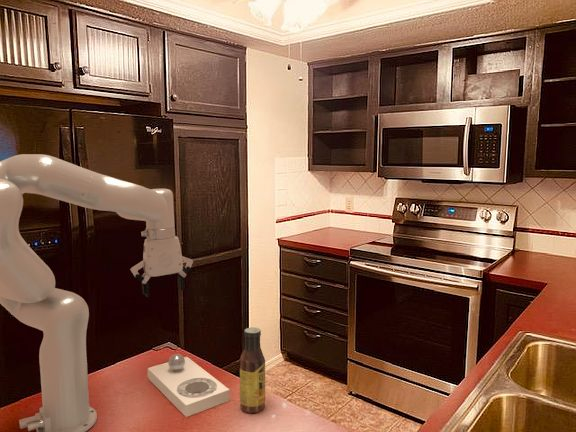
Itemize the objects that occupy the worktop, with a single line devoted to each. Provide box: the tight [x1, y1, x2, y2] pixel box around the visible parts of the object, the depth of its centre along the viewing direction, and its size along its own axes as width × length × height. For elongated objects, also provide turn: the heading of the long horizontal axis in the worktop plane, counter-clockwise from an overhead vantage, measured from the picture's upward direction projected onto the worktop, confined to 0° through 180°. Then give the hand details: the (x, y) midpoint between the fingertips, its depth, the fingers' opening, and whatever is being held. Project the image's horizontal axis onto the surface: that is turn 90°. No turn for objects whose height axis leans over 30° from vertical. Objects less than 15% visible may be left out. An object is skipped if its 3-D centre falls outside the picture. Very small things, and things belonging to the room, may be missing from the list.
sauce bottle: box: [239, 327, 266, 414], centre depth 112 cm, size 6×6×20 cm
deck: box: [146, 356, 231, 418], centre depth 121 cm, size 12×24×3 cm, turn 38°
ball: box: [167, 353, 185, 371], centre depth 125 cm, size 4×4×4 cm
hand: (164, 292), depth 128 cm, fingers open, 9 cm apart
